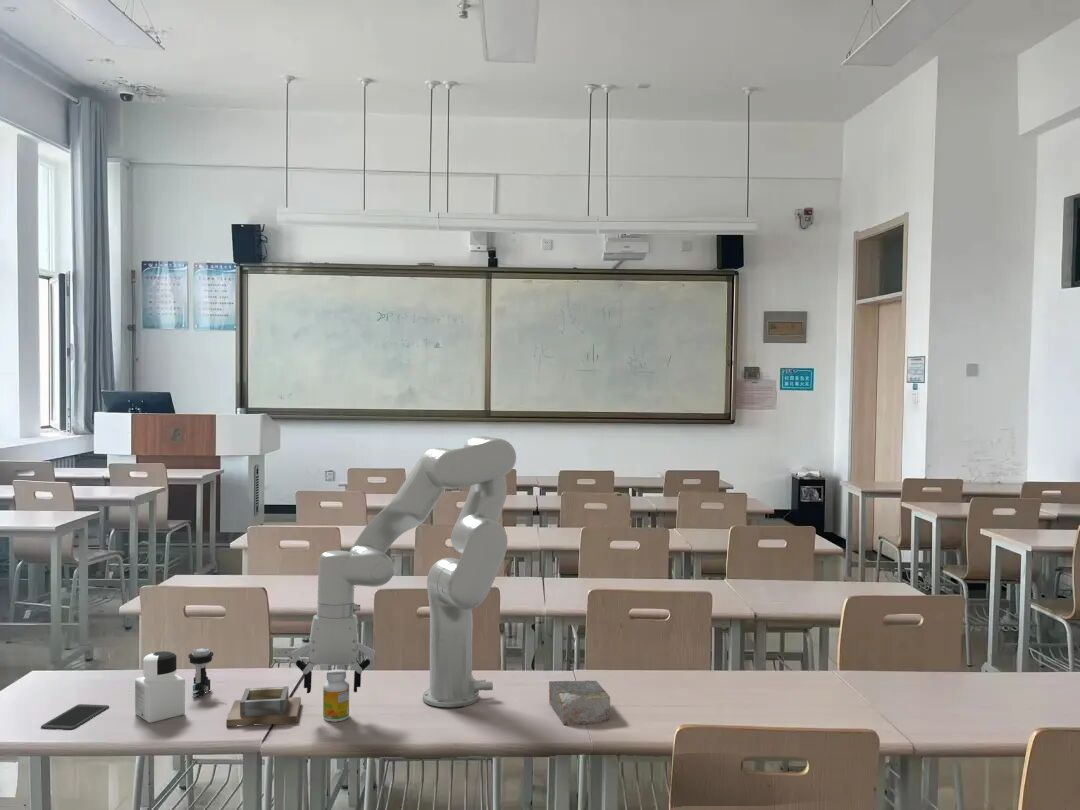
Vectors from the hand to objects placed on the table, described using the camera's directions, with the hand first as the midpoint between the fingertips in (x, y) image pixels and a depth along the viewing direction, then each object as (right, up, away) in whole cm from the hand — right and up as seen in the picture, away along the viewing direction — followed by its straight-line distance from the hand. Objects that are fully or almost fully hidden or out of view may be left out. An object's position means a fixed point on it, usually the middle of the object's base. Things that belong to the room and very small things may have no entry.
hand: (332, 690), depth 197 cm
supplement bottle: (+1, -6, 0) cm, 6 cm away
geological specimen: (+53, -7, +5) cm, 53 cm away
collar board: (-15, -6, +2) cm, 16 cm away
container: (-37, -6, +2) cm, 38 cm away
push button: (-33, -6, +15) cm, 37 cm away
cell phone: (-54, -6, 0) cm, 54 cm away
